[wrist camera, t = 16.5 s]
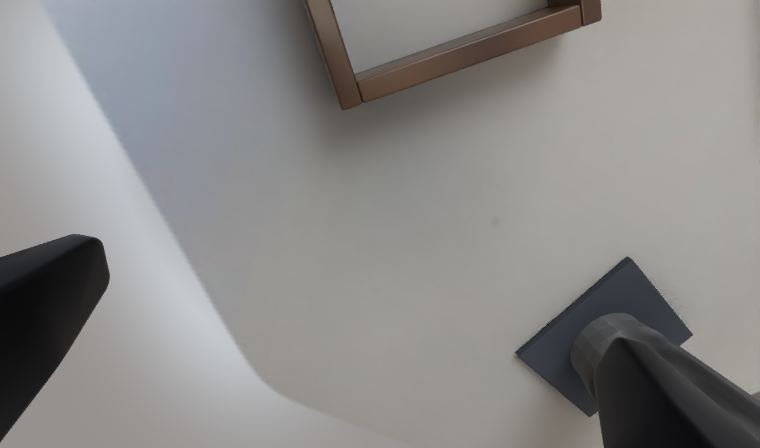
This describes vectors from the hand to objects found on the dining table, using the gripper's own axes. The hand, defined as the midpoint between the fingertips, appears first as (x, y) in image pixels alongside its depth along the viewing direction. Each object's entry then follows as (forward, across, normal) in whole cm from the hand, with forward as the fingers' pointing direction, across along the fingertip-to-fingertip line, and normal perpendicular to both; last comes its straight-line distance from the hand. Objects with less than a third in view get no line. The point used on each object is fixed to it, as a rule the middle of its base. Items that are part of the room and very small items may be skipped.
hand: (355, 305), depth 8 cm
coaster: (+14, -14, +12) cm, 23 cm away
